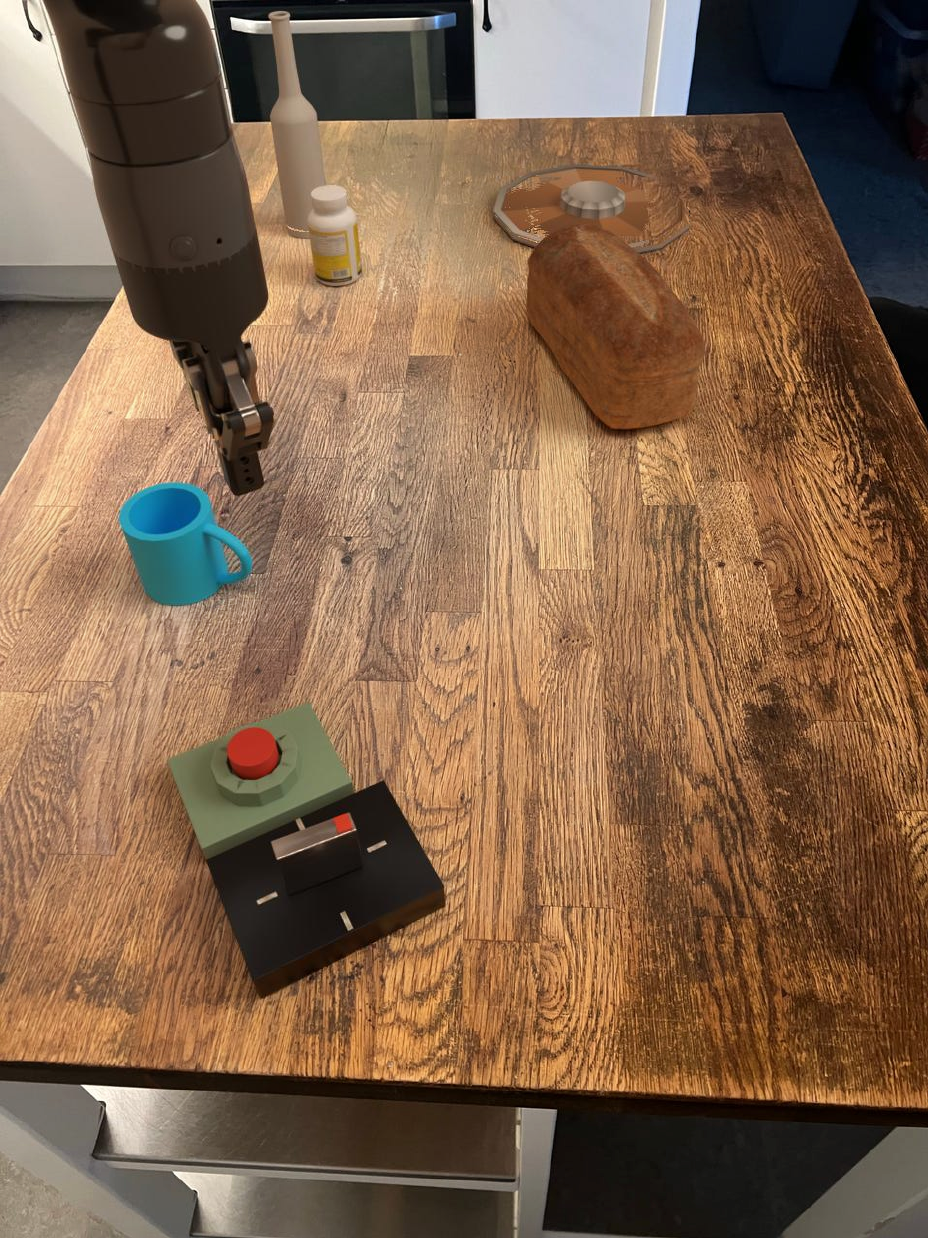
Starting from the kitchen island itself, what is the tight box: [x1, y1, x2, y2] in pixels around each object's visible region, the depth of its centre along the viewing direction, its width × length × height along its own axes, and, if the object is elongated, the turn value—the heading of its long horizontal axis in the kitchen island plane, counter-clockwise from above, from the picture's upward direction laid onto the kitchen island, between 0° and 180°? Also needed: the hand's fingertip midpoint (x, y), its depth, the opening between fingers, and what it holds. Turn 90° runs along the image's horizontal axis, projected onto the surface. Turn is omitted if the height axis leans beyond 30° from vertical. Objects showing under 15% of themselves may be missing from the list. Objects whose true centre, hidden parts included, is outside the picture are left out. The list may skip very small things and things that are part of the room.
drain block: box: [166, 701, 355, 861], centre depth 75 cm, size 12×9×4 cm
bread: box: [525, 224, 706, 430], centre depth 111 cm, size 12×31×14 cm, turn 17°
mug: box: [118, 481, 253, 607], centre depth 89 cm, size 12×8×8 cm
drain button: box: [227, 727, 279, 779], centre depth 73 cm, size 4×4×2 cm
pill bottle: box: [307, 184, 363, 287], centre depth 129 cm, size 6×6×12 cm
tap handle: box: [271, 813, 363, 895], centre depth 65 cm, size 6×2×5 cm, turn 113°
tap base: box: [205, 779, 447, 1000], centre depth 68 cm, size 14×10×3 cm
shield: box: [492, 163, 691, 254], centre depth 144 cm, size 30×3×30 cm
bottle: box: [267, 10, 327, 239], centre depth 133 cm, size 7×7×28 cm
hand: (245, 485), depth 63 cm, fingers closed
